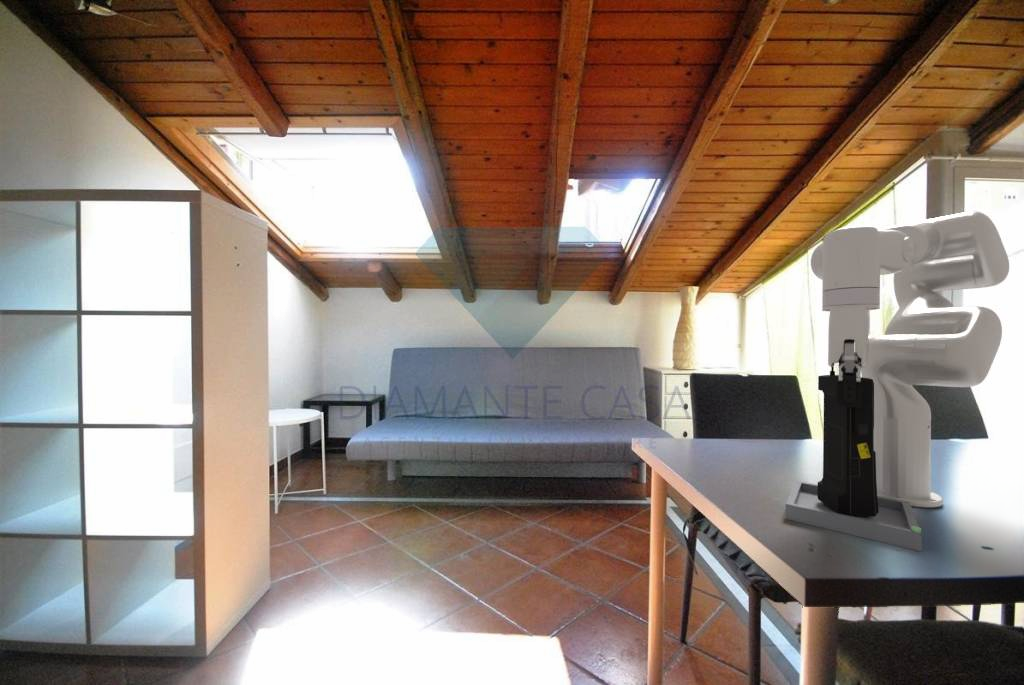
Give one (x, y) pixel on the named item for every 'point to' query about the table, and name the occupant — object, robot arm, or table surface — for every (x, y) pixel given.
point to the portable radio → (848, 451)
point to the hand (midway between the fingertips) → (849, 403)
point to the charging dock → (857, 518)
